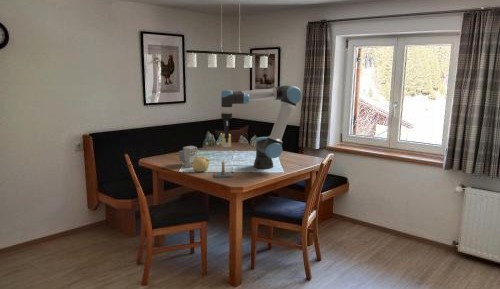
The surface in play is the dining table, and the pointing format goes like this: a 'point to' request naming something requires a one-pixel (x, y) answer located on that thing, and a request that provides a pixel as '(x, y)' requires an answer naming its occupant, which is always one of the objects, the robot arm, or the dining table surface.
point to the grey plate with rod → (223, 173)
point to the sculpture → (200, 164)
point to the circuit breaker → (188, 156)
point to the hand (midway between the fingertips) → (226, 145)
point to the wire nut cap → (224, 140)
